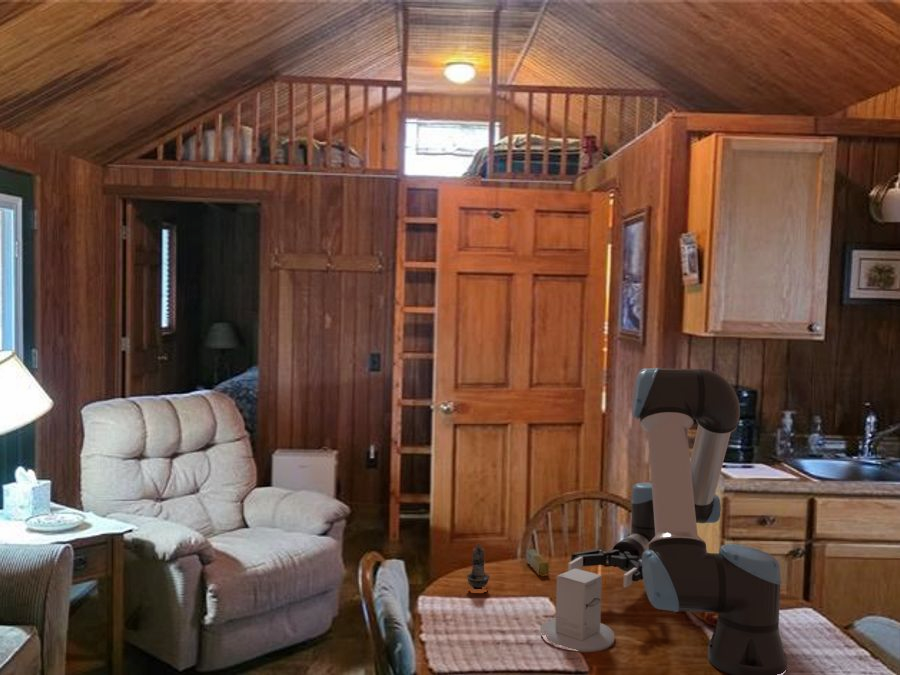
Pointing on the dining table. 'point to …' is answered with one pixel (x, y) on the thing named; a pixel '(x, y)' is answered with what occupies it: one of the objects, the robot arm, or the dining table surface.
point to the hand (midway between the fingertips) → (596, 575)
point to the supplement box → (578, 603)
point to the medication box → (537, 561)
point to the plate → (589, 644)
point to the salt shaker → (478, 569)
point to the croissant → (708, 617)
